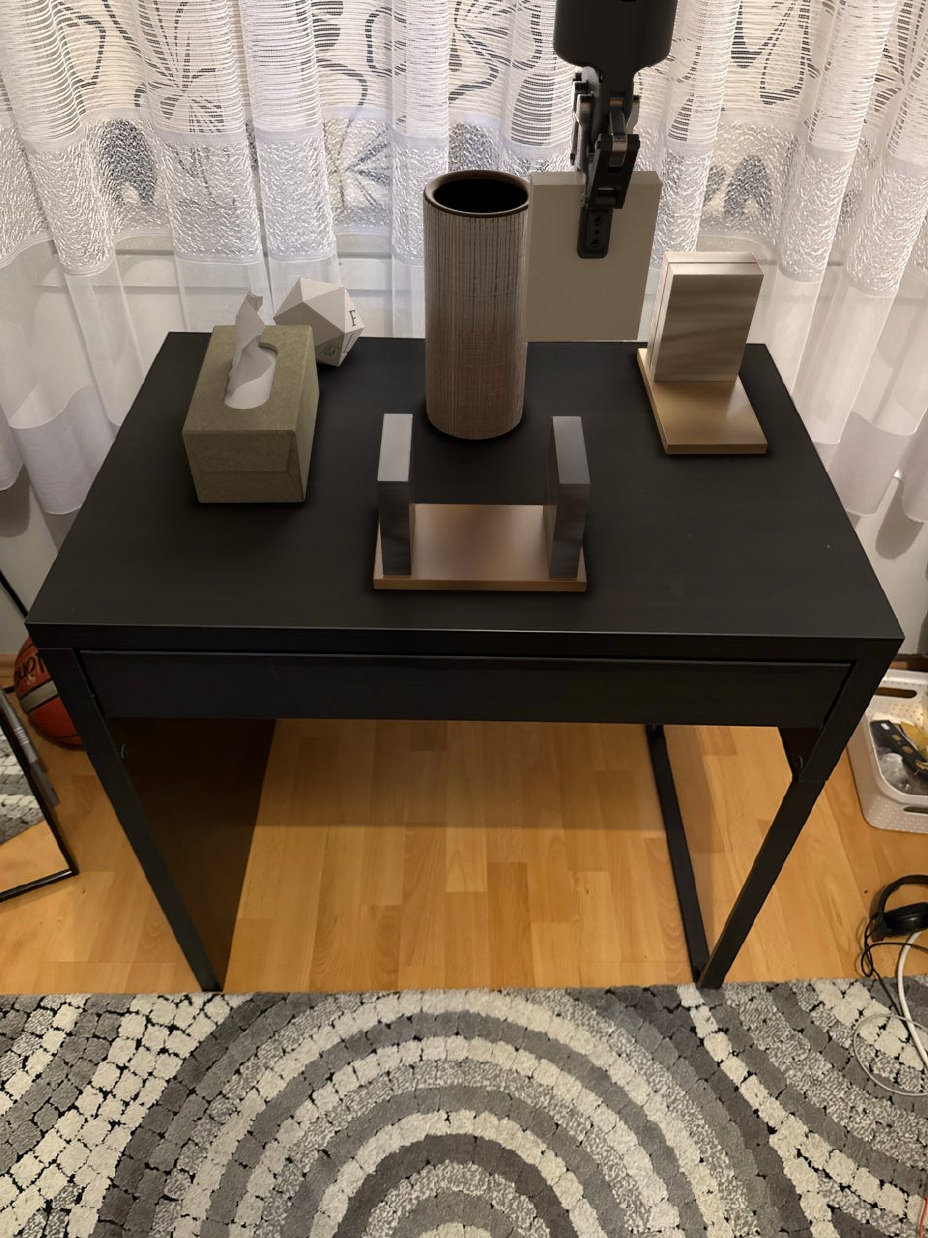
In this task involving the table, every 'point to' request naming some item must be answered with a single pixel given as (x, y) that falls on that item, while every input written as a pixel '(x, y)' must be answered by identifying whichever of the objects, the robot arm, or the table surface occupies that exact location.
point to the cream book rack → (703, 353)
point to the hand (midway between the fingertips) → (588, 246)
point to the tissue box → (253, 411)
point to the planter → (474, 301)
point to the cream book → (586, 262)
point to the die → (323, 317)
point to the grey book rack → (482, 524)
